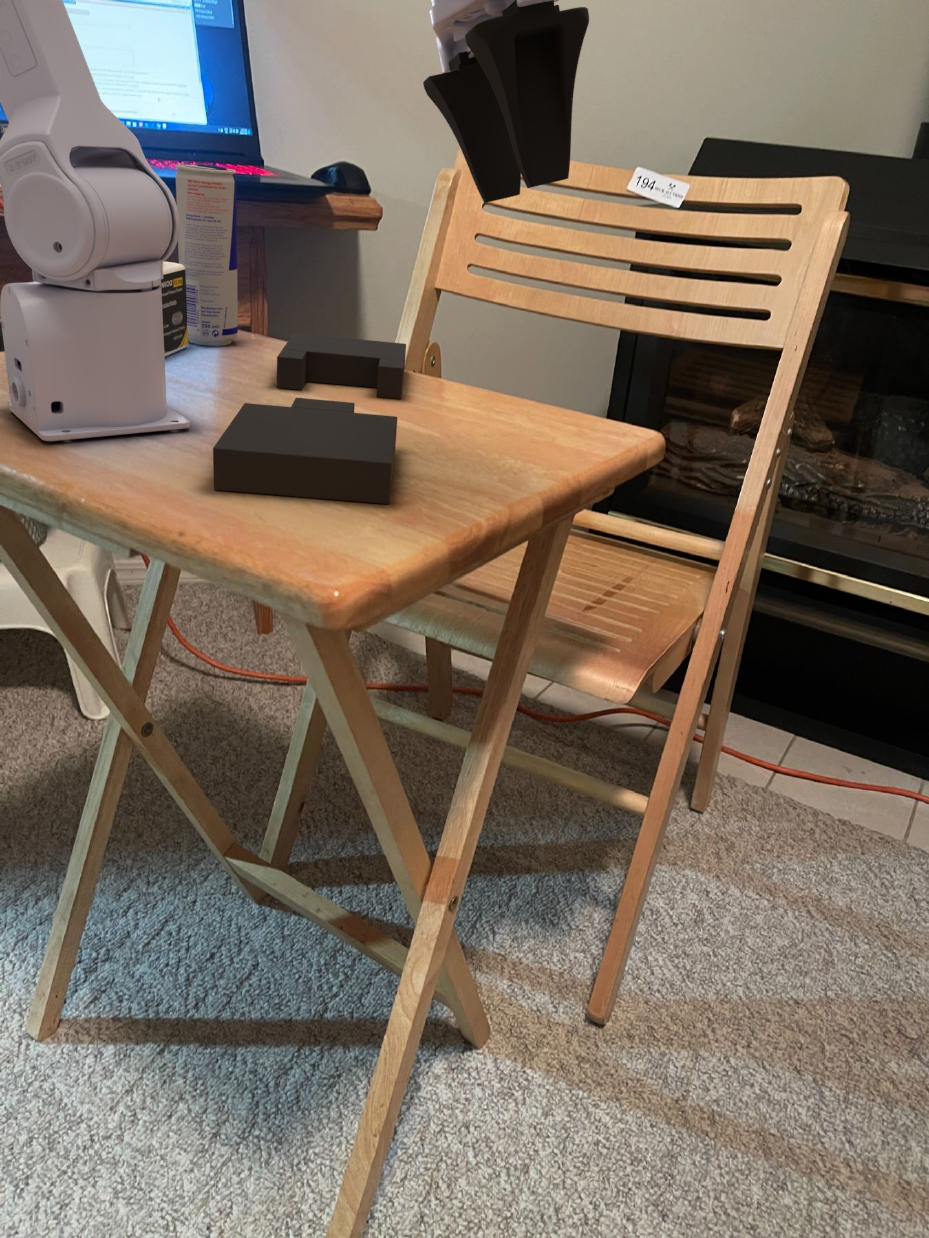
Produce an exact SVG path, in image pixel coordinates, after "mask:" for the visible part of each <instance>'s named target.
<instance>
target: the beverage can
mask: <svg viewBox="0 0 929 1238" xmlns="http://www.w3.org/2000/svg"><path fill="white" fill-rule="evenodd" d="M175 168H176V169H177V170H176V173H175V196H176V198H175V199H176V205H177V208H178V212H179V219H180V233H179V238H178V241H177V248H178V264H182V265H183V266H184V267H185V272H186V300H187V328H188V342H189V343H192V344H195V345H201V346H209V347H210V346H211V347H219V346H222V347H223V346H227V345H231V343H232V340H234V339H236V338H237V337H238V334H239V312H238V311H239V308H238V307H239V306H238V305H239V303H238V301H239V300H238V231H237V230H238V223H237V222H238V221H237V219H238V218H237V217H238V215H237V213H238V212H237V211H238V210H237V209H238V208H237V207H238V206H237V180H236V176H235V175H236V173H237V171H236V170H235V169H230V168H227V167H225V166H219V165H210V164H203V163H199V164H196V165H194V164H193V165H192V164H175Z"/></svg>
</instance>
